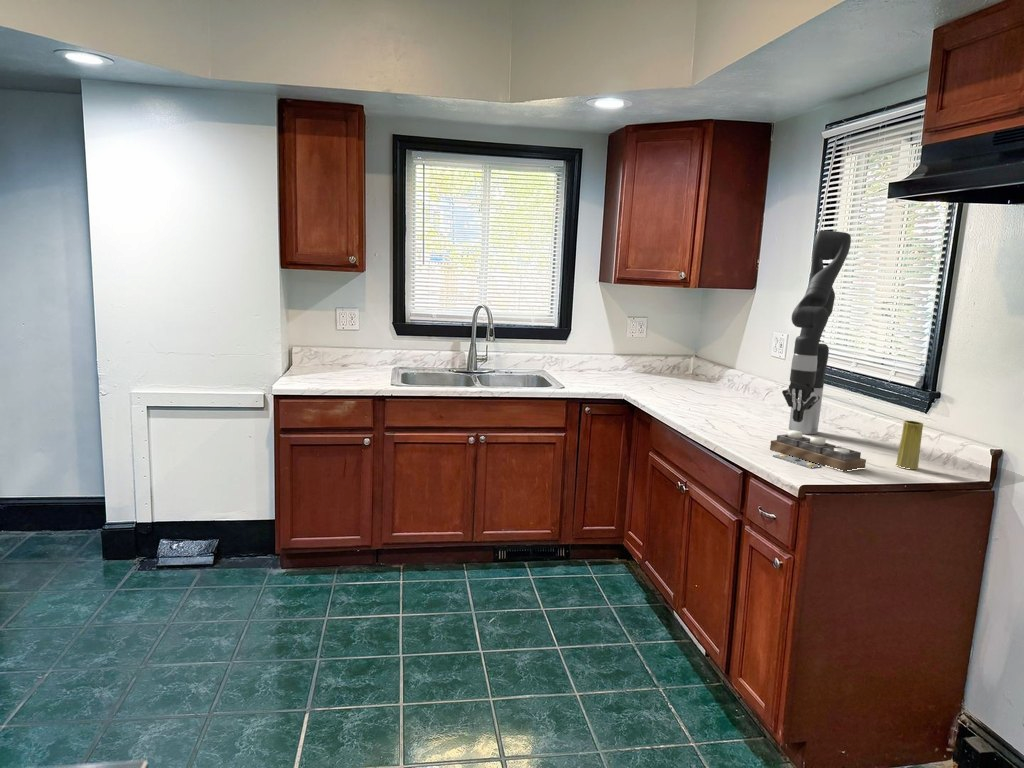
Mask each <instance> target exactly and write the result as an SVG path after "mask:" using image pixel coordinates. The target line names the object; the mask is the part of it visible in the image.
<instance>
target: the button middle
mask: <svg viewBox="0 0 1024 768" xmlns="http://www.w3.org/2000/svg"><path fill="white" fill-rule="evenodd" d="M809 438H810V444H813V445H816V446H825V443H826V440H827V439H826V438H825V437H821V436H813V435H811V436H810V437H809Z"/></svg>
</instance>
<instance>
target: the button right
mask: <svg viewBox="0 0 1024 768" xmlns="http://www.w3.org/2000/svg"><path fill="white" fill-rule="evenodd" d="M843 448H844V447H843ZM843 448H834V451H838V452H841V453H850V450H851V449H850V450H847V449H848V448H846V449H843Z"/></svg>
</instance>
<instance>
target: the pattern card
mask: <svg viewBox="0 0 1024 768" xmlns="http://www.w3.org/2000/svg"><path fill="white" fill-rule="evenodd" d="M772 457H773V458H777V459H779V460H782V459H783V460H782V461H785V460H787V461H786V462H789V461H790V463H792V462H793V463H792V464H795V463H797V464H796V465H798V464H800V465H799V466H801V465H803V466H802V467H804V466H807V467H806V468H808V467H818V466H822V465H818V464H815V463H812V462H809V461H805V460H802V459H799V458H796V457H792V456H789V455H786V454H783V453H780V454H779V453H778V454H772ZM818 468H819V467H818Z"/></svg>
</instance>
